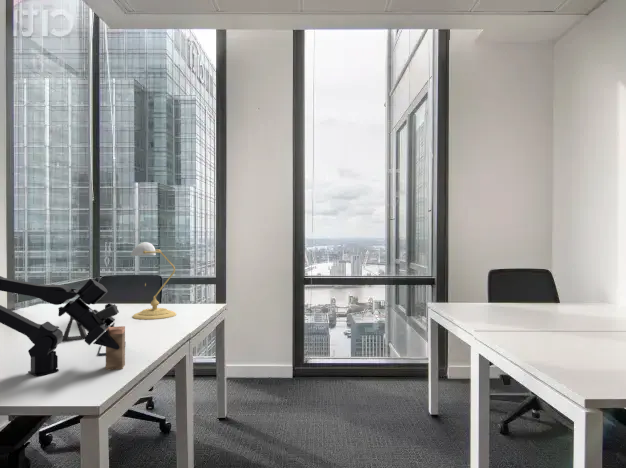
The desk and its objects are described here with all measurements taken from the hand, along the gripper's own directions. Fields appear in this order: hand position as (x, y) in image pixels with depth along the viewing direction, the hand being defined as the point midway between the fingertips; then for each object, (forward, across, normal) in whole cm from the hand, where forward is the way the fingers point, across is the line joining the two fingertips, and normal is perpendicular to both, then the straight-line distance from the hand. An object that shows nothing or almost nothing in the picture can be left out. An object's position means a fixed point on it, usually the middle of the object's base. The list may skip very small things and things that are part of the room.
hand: (120, 346), depth 144 cm
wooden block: (+4, 0, +6) cm, 7 cm away
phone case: (+1, +24, +10) cm, 26 cm away
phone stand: (-13, +48, +23) cm, 55 cm away
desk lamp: (+6, +94, +4) cm, 94 cm away
